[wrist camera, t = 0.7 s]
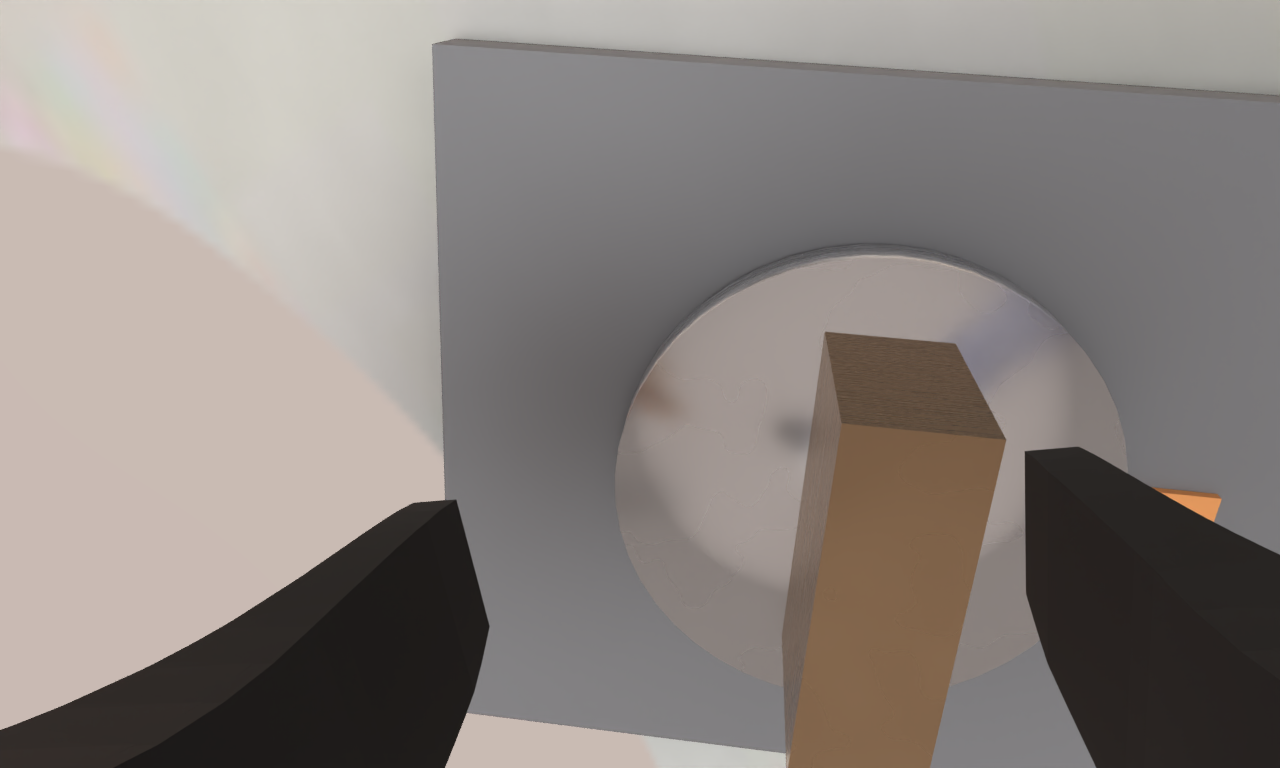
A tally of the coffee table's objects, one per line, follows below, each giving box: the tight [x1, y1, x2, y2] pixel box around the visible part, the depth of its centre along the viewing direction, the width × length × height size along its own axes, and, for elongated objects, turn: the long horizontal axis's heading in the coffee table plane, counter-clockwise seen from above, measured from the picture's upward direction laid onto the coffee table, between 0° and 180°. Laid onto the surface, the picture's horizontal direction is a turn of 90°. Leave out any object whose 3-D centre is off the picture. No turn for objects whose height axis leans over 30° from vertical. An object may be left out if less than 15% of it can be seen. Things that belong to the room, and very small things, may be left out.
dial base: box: [432, 39, 1280, 768], centre depth 21 cm, size 18×16×2 cm
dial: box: [615, 244, 1128, 768], centre depth 18 cm, size 10×10×5 cm
